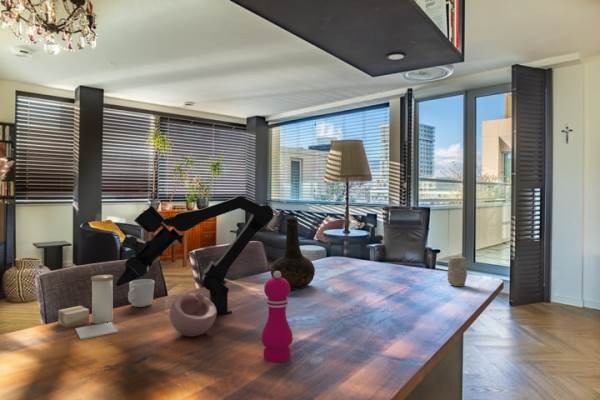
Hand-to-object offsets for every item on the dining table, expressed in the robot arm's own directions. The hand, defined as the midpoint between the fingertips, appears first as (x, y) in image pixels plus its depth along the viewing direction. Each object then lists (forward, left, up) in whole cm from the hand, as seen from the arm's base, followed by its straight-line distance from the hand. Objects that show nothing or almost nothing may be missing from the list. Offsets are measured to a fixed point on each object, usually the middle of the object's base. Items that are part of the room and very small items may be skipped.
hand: (119, 281), depth 115 cm
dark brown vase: (+2, -66, -12) cm, 67 cm away
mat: (-7, +7, -11) cm, 15 cm away
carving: (-37, -122, -12) cm, 128 cm away
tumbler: (+2, +4, -11) cm, 12 cm away
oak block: (+5, +11, -12) cm, 17 cm away
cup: (+11, -8, -12) cm, 18 cm away
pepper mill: (-50, -23, -11) cm, 56 cm away
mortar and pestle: (-25, -13, -12) cm, 30 cm away
